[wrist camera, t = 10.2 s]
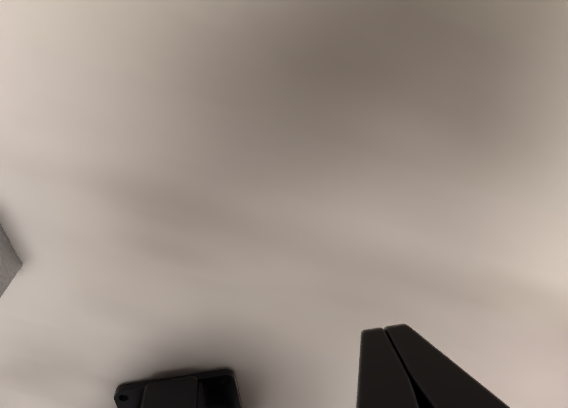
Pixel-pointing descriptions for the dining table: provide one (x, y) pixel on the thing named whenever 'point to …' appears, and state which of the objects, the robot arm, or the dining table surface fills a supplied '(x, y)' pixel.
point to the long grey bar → (7, 262)
